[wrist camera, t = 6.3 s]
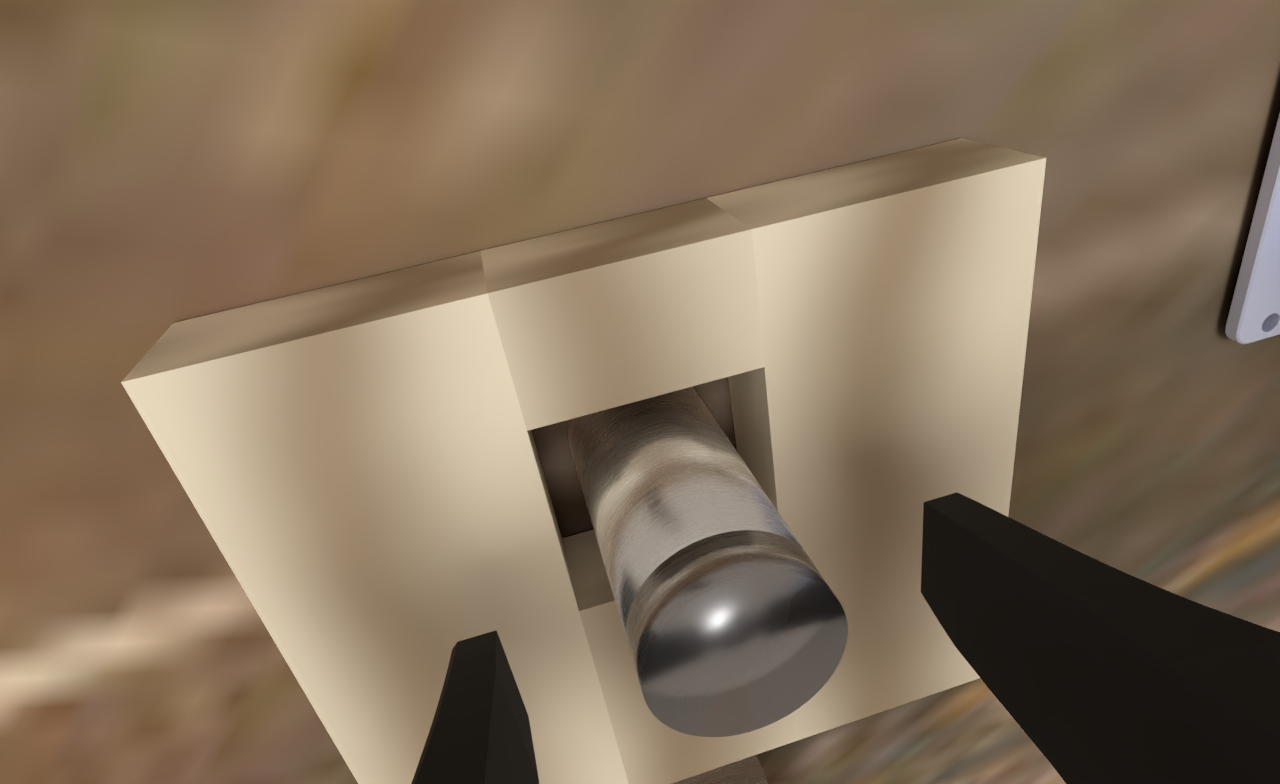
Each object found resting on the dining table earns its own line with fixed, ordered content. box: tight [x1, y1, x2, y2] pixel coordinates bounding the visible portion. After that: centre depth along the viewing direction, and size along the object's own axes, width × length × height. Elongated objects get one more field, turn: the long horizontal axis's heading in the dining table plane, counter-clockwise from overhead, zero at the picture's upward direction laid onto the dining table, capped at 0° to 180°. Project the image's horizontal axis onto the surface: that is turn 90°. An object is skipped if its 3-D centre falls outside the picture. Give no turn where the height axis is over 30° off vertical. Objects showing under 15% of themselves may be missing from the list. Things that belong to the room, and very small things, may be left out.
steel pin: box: [568, 386, 848, 737], centre depth 14 cm, size 3×3×7 cm
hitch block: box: [121, 138, 1046, 784], centre depth 17 cm, size 16×14×2 cm
